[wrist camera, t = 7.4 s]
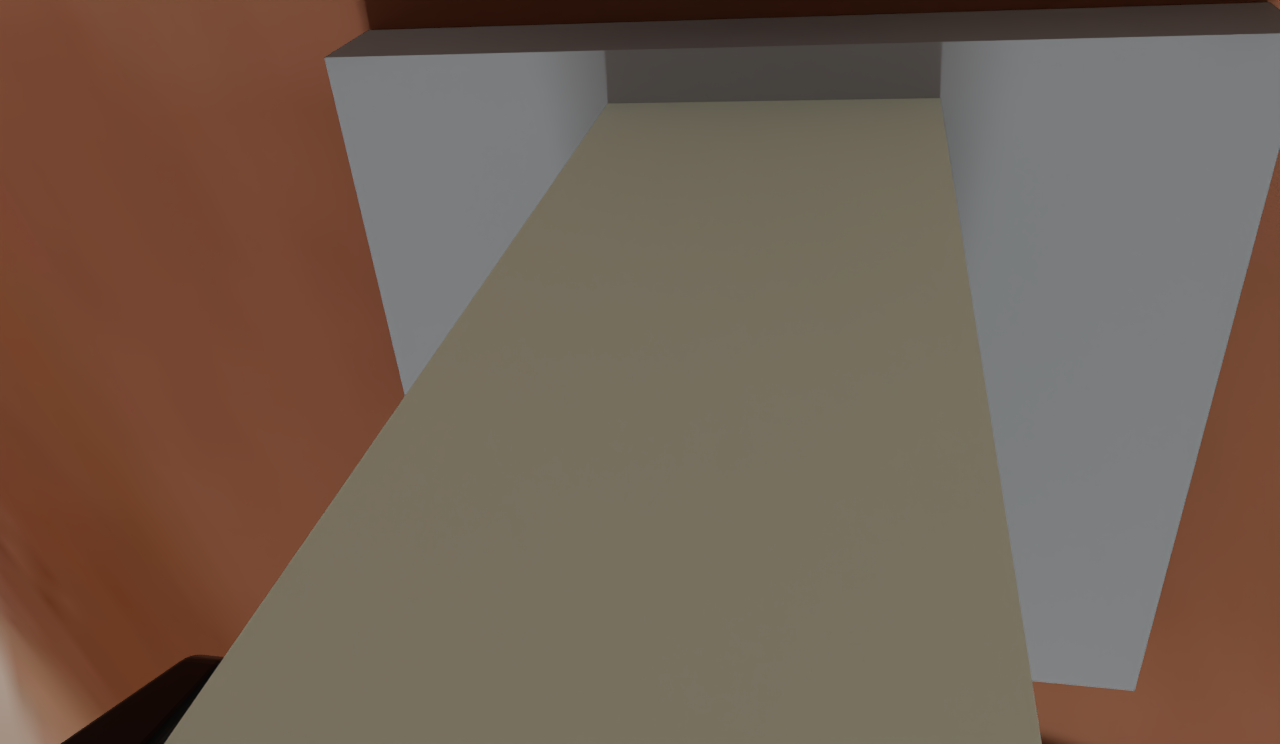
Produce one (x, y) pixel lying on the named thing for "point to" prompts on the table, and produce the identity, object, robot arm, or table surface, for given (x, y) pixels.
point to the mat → (988, 213)
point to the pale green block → (676, 470)
